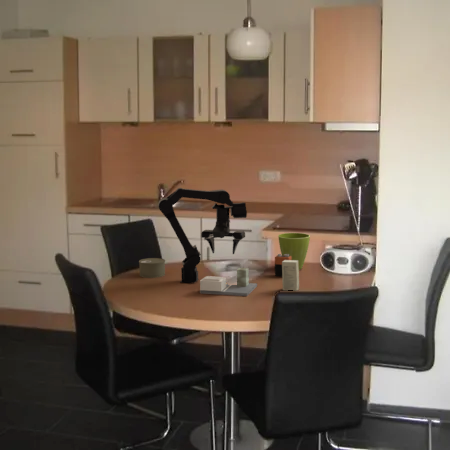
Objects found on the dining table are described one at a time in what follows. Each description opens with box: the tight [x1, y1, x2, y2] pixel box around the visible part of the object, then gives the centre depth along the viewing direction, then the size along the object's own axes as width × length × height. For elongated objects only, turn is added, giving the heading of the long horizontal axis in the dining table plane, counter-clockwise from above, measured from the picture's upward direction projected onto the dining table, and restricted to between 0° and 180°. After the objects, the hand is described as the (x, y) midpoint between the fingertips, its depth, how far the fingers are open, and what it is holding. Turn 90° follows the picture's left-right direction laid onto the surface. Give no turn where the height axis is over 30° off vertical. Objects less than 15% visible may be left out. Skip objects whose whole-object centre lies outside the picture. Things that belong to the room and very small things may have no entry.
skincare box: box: [281, 260, 300, 292], centre depth 278 cm, size 6×4×12 cm
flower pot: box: [277, 232, 311, 271], centre depth 318 cm, size 15×15×16 cm
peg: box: [236, 267, 250, 287], centre depth 282 cm, size 4×4×7 cm
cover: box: [199, 275, 227, 291], centre depth 276 cm, size 9×7×5 cm
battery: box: [274, 253, 292, 278], centre depth 303 cm, size 4×7×10 cm, turn 68°
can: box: [138, 257, 166, 279], centre depth 309 cm, size 12×12×7 cm
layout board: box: [199, 282, 258, 297], centre depth 280 cm, size 20×17×1 cm
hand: (223, 253), depth 296 cm, fingers open, 9 cm apart
